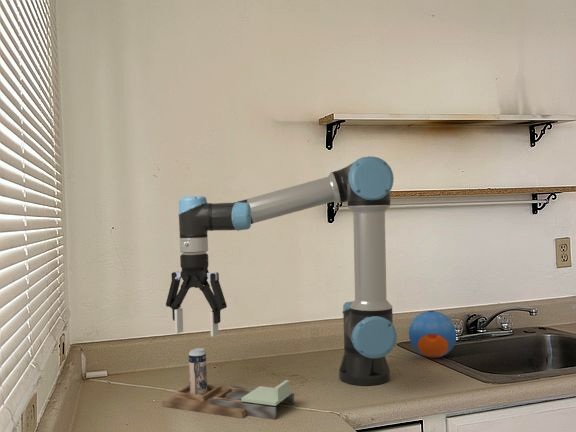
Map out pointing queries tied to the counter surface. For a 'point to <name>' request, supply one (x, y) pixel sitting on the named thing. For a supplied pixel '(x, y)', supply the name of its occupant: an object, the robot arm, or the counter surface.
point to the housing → (222, 402)
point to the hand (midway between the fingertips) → (196, 333)
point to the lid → (268, 394)
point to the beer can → (197, 371)
